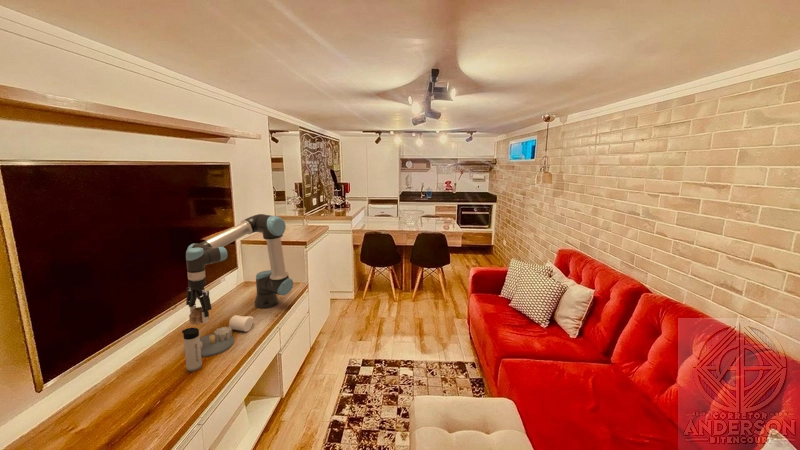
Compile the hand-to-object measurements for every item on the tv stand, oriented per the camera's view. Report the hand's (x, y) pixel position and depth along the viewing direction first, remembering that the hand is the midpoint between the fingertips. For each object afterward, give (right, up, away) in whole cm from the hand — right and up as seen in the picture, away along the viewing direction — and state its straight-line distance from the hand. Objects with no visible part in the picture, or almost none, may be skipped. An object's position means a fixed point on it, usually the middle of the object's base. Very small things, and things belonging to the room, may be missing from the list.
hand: (199, 320), depth 165 cm
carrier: (+3, -15, +6) cm, 17 cm away
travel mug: (+5, -20, -12) cm, 23 cm away
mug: (+10, -12, +25) cm, 30 cm away
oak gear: (0, 0, 0) cm, 0 cm away
